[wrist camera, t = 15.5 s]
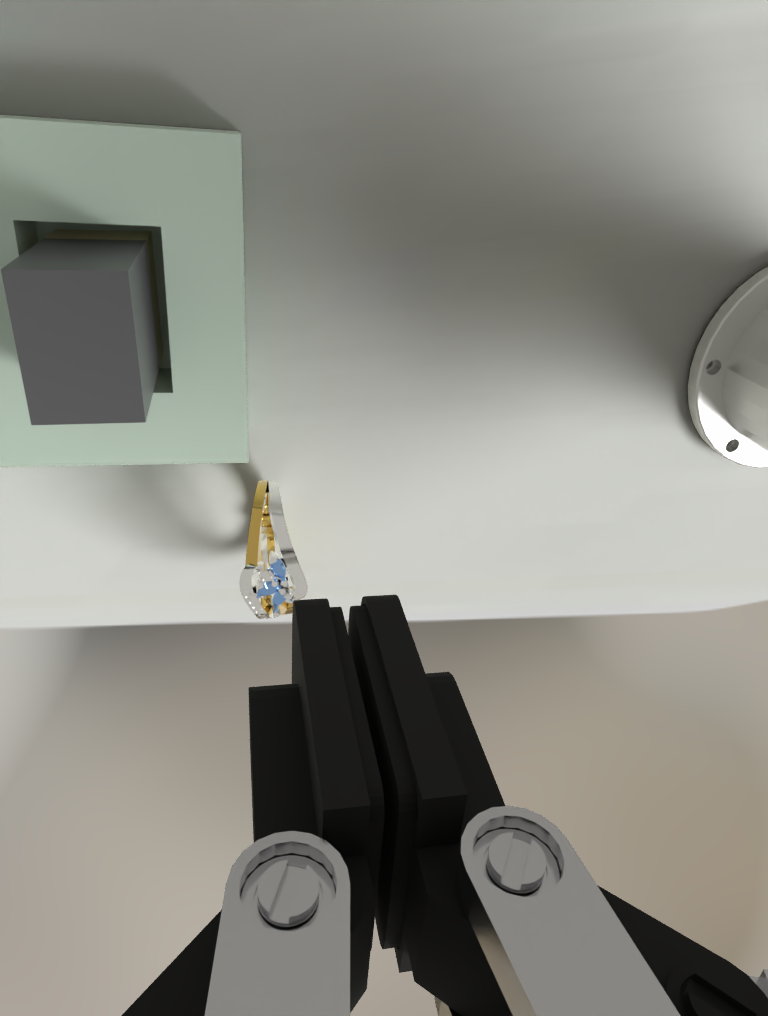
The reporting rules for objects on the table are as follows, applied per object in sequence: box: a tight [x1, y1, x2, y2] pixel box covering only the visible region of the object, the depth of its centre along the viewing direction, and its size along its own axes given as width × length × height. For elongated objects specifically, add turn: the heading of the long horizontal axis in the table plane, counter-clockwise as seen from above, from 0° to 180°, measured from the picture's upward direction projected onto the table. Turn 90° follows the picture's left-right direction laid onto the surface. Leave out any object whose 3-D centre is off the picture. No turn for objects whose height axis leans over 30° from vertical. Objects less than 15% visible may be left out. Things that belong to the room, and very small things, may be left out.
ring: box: [240, 480, 307, 619], centre depth 37 cm, size 7×3×8 cm, turn 173°
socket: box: [0, 115, 249, 467], centre depth 31 cm, size 16×14×5 cm
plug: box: [1, 229, 163, 425], centre depth 29 cm, size 4×6×9 cm
